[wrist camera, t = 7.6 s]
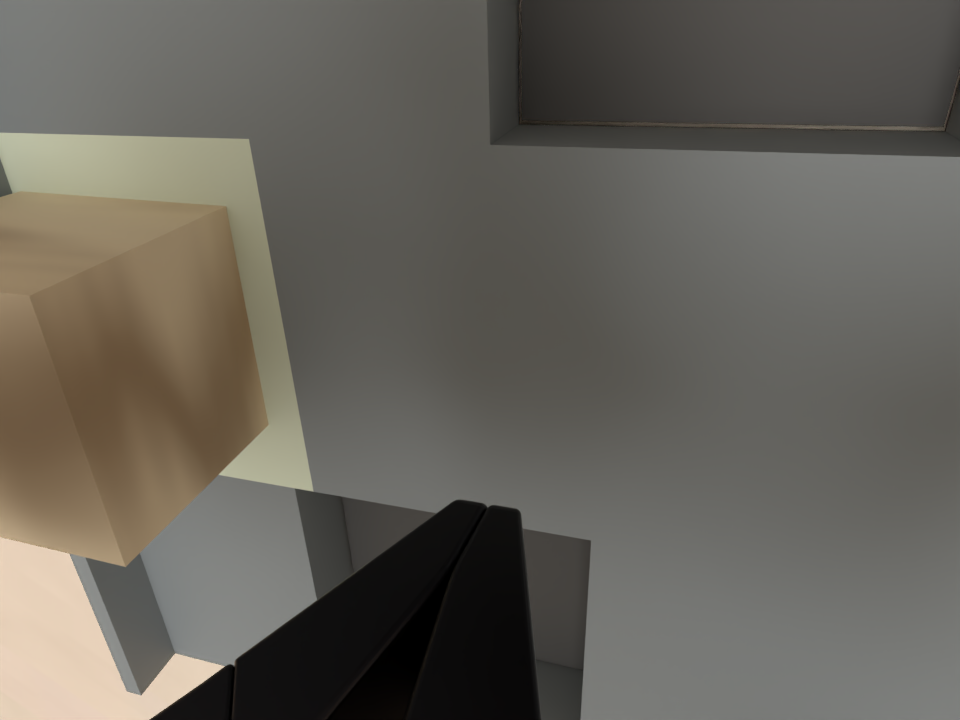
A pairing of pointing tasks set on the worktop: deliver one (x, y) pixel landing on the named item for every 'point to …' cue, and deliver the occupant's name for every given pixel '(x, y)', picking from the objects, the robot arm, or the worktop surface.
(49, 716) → the worktop surface
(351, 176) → the board
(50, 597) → the worktop surface
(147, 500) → the maple block
